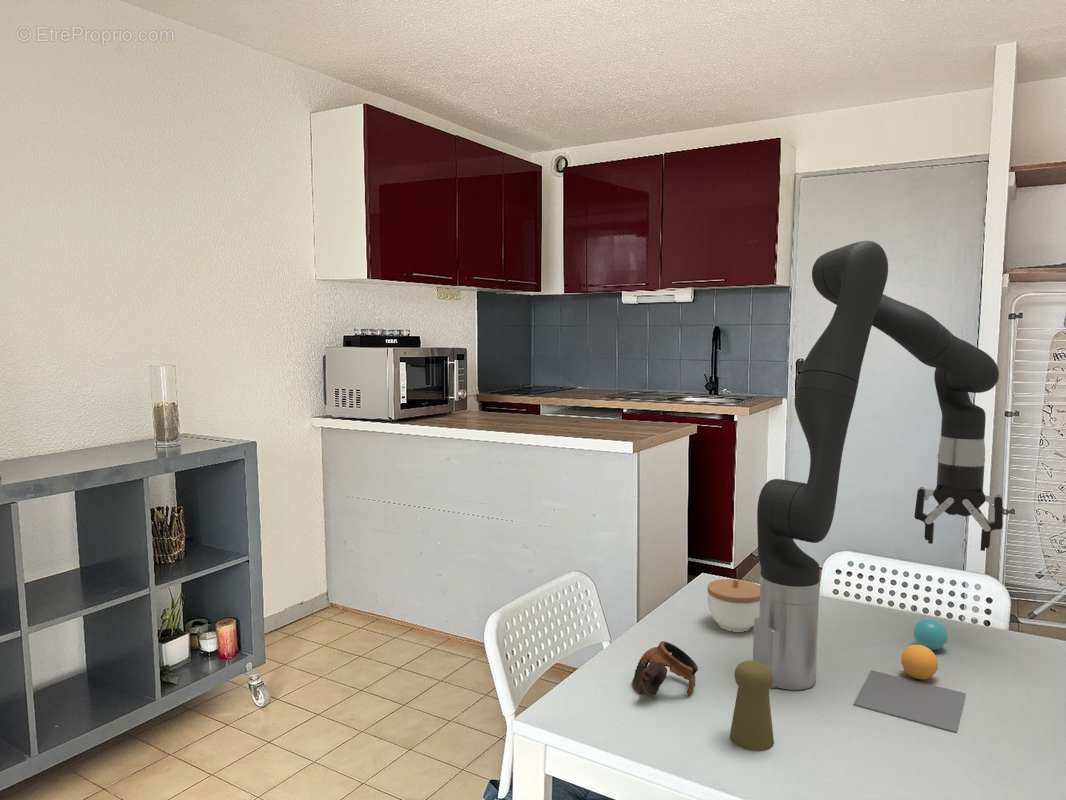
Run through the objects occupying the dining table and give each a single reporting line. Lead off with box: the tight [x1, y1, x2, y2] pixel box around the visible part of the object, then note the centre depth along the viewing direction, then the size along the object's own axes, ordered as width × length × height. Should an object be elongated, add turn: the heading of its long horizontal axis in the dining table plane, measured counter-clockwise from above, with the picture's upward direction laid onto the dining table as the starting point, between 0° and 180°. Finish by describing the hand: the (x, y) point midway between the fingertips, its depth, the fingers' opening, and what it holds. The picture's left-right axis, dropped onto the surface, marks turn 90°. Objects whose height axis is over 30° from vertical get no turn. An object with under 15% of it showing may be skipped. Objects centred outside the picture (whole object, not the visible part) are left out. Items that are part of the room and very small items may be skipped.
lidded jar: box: [707, 578, 760, 633], centre depth 145 cm, size 11×11×9 cm
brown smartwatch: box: [631, 640, 699, 696], centre depth 119 cm, size 12×10×8 cm
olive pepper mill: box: [729, 660, 775, 752], centre depth 105 cm, size 6×6×11 cm
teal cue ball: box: [913, 618, 948, 651], centre depth 135 cm, size 6×6×6 cm
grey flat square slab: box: [853, 670, 967, 734], centre depth 117 cm, size 14×14×1 cm
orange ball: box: [900, 644, 939, 680], centre depth 124 cm, size 6×6×6 cm
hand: (956, 546), depth 139 cm, fingers open, 8 cm apart
